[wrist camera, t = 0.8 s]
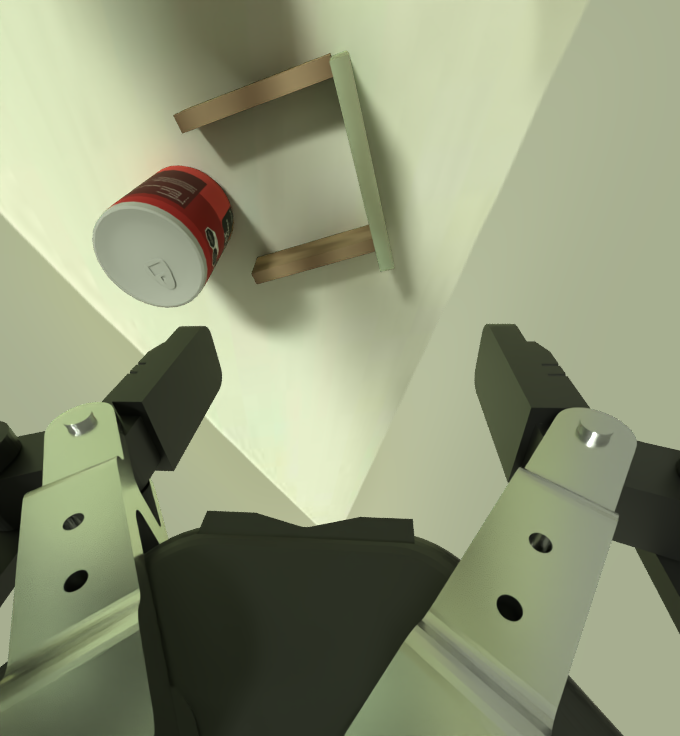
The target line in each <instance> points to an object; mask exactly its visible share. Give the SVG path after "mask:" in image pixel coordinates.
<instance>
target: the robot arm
mask: <svg viewBox="0 0 680 736" xmlns="http://www.w3.org/2000/svg"><path fill="white" fill-rule="evenodd" d="M221 382H222V372H221V367H220V363H219V360H218V357H217V353H216V350H215V346H214V343H213V339H212V336H211V333H210V330H209V329H208V328H207V327H206V326H181V327H179V328H177V329H176V331H175V332H174V333H173V334H172V335H171V336H170V337H169V338H168V339H167V341H166V342H165V343H162V344H160V345H159V346H157V347H155V348H154V349H152V350H151V351H149V352H148V353H147V354H146V355H145V356H144V357H143V358H142V359H141V360H140V361H139V362H138V365H136V366H135V367H134V368H133V369H132V370H131V371H130V374H127V375H126V376H125V377H124V378H123V380H121V382H120V383H119V384H118V385H117V386H116V387H115V388H114V389H113V390H112V391H111V392H110V393H109V394H108V395H107V397H106V398H105V399H104V400H103V401H102V402H92V403H86V404H83V405H79V406H77V407H74V408H72V409H70V410H68V411H66V412H64V413H62V414H61V415H60V416H58V417H57V418H55V419H54V420H53V421H52V422H51V423H50V424H49V426H48V427H47V429H46V431H43V432H39V433H34V434H29V435H24V436H19V437H17V436H16V435H15V434H14V433H13V431H12V430H11V428H10V427H9V426H8V425H7V424H6V423H5V422H1V421H0V607H1V605H2V604H3V603H4V601H5V600H6V598H7V597H8V595H9V594H10V592H11V591H12V590H13V588H14V587H15V589H14V600H13V611H12V621H11V632H10V643H9V654H8V662H6V663H5V664H4V665H2V666H1V667H0V736H623V735H622V734H621V732H620V731H619V730H618V729H617V728H616V727H615V726H614V725H613V724H612V723H611V721H610V720H609V719H608V718H607V717H606V716H605V715H604V714H603V713H602V712H601V710H600V709H599V708H598V707H597V706H596V705H595V704H594V703H593V702H592V701H591V700H590V699H589V697H588V696H587V695H586V694H585V693H584V692H583V691H582V690H581V688H580V687H579V686H578V685H577V684H576V683H575V682H574V681H573V680H572V679H571V677H570V676H569V675H568V674H569V671H570V668H571V665H572V662H573V659H574V656H575V653H576V650H577V646H578V643H579V640H580V637H581V634H582V631H583V628H584V625H585V622H586V619H587V616H588V612H589V609H590V606H591V603H592V600H593V597H594V594H595V591H596V588H597V585H598V582H599V578H600V575H601V572H602V569H603V566H604V563H605V560H606V557H607V554H608V551H609V547H610V544H611V541H612V540H613V541H616V542H619V543H623V544H626V545H629V546H632V547H635V549H636V551H637V553H638V555H639V556H640V558H641V560H642V562H643V564H644V566H645V568H646V570H647V572H648V574H649V576H650V578H651V580H652V582H653V583H654V585H655V587H656V589H657V591H658V593H659V595H660V597H661V599H662V601H663V603H664V604H665V607H666V608H667V610H668V612H669V614H670V616H671V618H672V620H673V622H674V624H675V626H676V628H677V630H678V632H679V633H680V451H679V450H675V449H670V448H666V447H662V446H657V445H653V444H648V443H644V442H640V441H637V440H636V437H635V435H634V434H633V432H632V431H631V430H630V429H629V428H628V427H627V426H626V425H625V424H624V423H623V422H621V421H620V420H618V419H617V418H615V417H613V416H611V415H609V414H606V413H604V412H601V411H598V410H594V409H590V407H589V406H588V405H587V403H586V402H585V400H584V399H583V398H582V396H581V395H580V393H579V392H578V391H577V389H576V388H575V386H574V385H573V384H572V382H571V381H570V380H569V378H568V377H567V376H565V372H564V371H563V369H562V368H561V367H560V366H558V362H557V361H556V360H555V358H554V357H553V355H552V354H551V352H549V351H548V350H547V349H545V348H544V347H542V346H541V345H539V344H538V343H536V342H527V341H526V340H525V338H524V337H523V335H522V334H521V332H520V330H519V329H518V327H517V326H516V325H515V324H486V325H485V326H484V329H483V332H482V337H481V342H480V348H479V353H478V358H477V363H476V369H475V389H476V393H477V396H478V398H479V401H480V404H481V407H482V410H483V413H484V415H485V419H486V421H487V424H488V427H489V430H490V433H491V436H492V438H493V441H494V444H495V447H496V450H497V453H498V456H499V458H500V461H501V464H502V467H503V470H504V473H505V476H506V478H507V481H508V482H509V484H508V485H507V487H506V488H505V490H504V492H503V493H502V495H501V496H500V498H499V500H498V501H497V503H496V504H495V506H494V507H493V509H492V511H491V512H490V514H489V515H488V517H487V519H486V520H485V522H484V523H483V525H482V527H481V528H480V530H479V532H478V533H477V535H476V536H475V538H474V539H473V541H472V543H471V544H470V546H469V547H468V549H467V551H466V552H465V554H464V555H463V557H462V559H461V560H460V559H458V558H457V557H456V556H454V555H453V554H452V553H450V552H449V551H447V550H445V549H444V548H442V547H440V546H438V545H436V544H434V543H432V542H429V541H427V540H425V539H422V538H419V537H416V536H414V529H413V519H395V518H371V517H370V518H369V517H358V518H353V519H348V520H343V521H338V522H333V523H328V524H322V525H317V526H312V527H301V526H297V525H294V524H290V523H287V522H284V521H281V520H277V519H274V518H271V517H268V516H264V515H261V514H258V513H248V512H223V511H207V513H206V515H205V518H204V520H203V522H202V525H201V527H200V528H196V529H193V530H190V531H187V532H184V533H181V534H179V535H176V536H174V537H172V538H170V539H169V538H168V535H167V531H166V528H165V524H164V520H163V517H162V513H161V509H160V506H159V502H158V498H157V494H156V491H155V487H154V484H153V482H152V480H151V476H152V474H153V473H154V471H155V470H156V471H174V470H175V468H176V466H177V464H178V463H179V461H180V459H181V457H182V455H183V454H184V452H185V450H186V448H187V446H188V445H189V443H190V441H191V439H192V438H193V436H194V434H195V432H196V430H197V428H198V427H199V425H200V423H201V421H202V420H203V418H204V416H205V414H206V412H207V411H208V409H209V407H210V405H211V404H212V402H213V400H214V398H215V396H216V395H217V393H218V391H219V389H220V386H221Z"/></svg>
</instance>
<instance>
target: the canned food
mask: <svg viewBox="0 0 680 736" xmlns="http://www.w3.org/2000/svg"><path fill="white" fill-rule="evenodd" d="M233 223H234V222H233V213H232V209H231V206H230V202H229V200H228V198H227V196H226V194H225V193H224V191H223V190H222V188H221V187H220V186H219V185H218V184H217V183H216V182H215V181H214V180H213V179H212V178H211V177H209V176H208V175H207V174H205V173H203V172H201V171H200V170H197V169H194V168H191V167H186V166H169V167H166V168H164V169H162V170H160V171H159V172H157V173H156V174H154V175H153V176H152V177H150V178H149V179H148V180H146V181H145V182H143V183H142V184H141V185H139V186H138V187H136V188H135V189H134V190H132V191H131V192H130V193H128V194H127V195H125V196H124V197H123V198H121V199H120V200H119V201H117V202H116V203H114V204H113V205H112V206H111V207H110V208H108V209H107V210H106V211H105V212H104V213H103V214H102V215H101V217H100V218H99V219H98V220H97V222H96V224H95V227H94V230H93V238H92V240H93V247H94V252H95V254H96V257H97V260H98V262H99V264H100V265H101V267H102V269H103V270H104V272H105V273H106V274H107V276H108V277H109V278H110V279H111V280H112V281H113V282H114V283H115V284H116V285H117V286H118V287H119V288H120V289H122V290H123V291H124V292H126V293H127V294H128V295H130V296H132V297H134V298H135V299H137V300H139V301H142V302H144V303H146V304H150V305H154V306H157V307H167V308H168V307H178V306H182V305H185V304H187V303H189V302H191V301H192V300H193V299H194V298H195V297H197V296H198V294H199V293H200V292H201V290H202V289H203V287H204V286H205V284H206V282H207V281H208V279H209V277H210V275H211V273H212V271H213V269H214V267H215V266H216V264H217V262H218V260H219V258H220V256H221V254H222V252H223V250H224V248H225V246H226V245H227V243H228V241H229V239H230V237H231V234H232V231H233Z"/></svg>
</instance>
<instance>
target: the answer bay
mask: <svg viewBox="0 0 680 736" xmlns="http://www.w3.org/2000/svg"><path fill="white" fill-rule="evenodd" d="M332 77H333V78H334V82H335V87H336V91H337V95H338V99H339V103H340V107H341V111H342V115H343V120H344V124H345V128H346V132H347V136H348V140H349V144H350V148H351V153H352V157H353V161H354V165H355V169H356V173H357V177H358V181H359V186H360V190H361V194H362V198H363V202H364V206H365V210H366V214H367V218H368V223H369V225H366V226H363V227H360V228H356V229H353V230H349V231H346V232H343V233H339V234H336V235H332V236H329V237H326V238H322V239H319V240H315V241H312V242H309V243H305V244H302V245H298V246H295V247H292V248H288V249H285V250H281V251H278V252H275V253H271V254H268V255H264V256H261V257H257V260H256V263H255V265H254V268H253V271H252V276H253V278H254V280H255V282H256V284H260V283H264V282H267V281H271V280H274V279H278V278H282V277H285V276H289V275H292V274H296V273H299V272H303V271H307V270H310V269H314V268H317V267H321V266H325V265H328V264H332V263H335V262H339V261H342V260H346V259H350V258H353V257H357V256H360V255H364V254H367V253H371V252H375V251H376V256H377V260H378V264H379V268H380V272H382V271H386V270H390V269H393V268H395V267H394V262H393V257H392V253H391V248H390V243H389V239H388V234H387V229H386V224H385V220H384V215H383V210H382V206H381V201H380V196H379V192H378V187H377V182H376V178H375V173H374V168H373V163H372V159H371V154H370V149H369V145H368V140H367V135H366V131H365V126H364V121H363V117H362V112H361V107H360V102H359V98H358V93H357V88H356V84H355V79H354V74H353V70H352V65H351V60H350V56H349V53H348V52H347V51H344V52H341V53H339V54H336V55H334V56H331V54H330V53H329V54H327V55H324V56H322V57H319V58H316V59H314V60H311V61H309V62H306V63H304V64H301V65H298V66H296V67H293V68H291V69H288V70H286V71H283V72H280V73H278V74H275V75H273V76H270V77H267V78H265V79H262V80H260V81H257V82H255V83H252V84H249V85H247V86H244V87H242V88H239V89H237V90H234V91H231V92H229V93H226V94H224V95H221V96H219V97H216V98H213V99H211V100H208V101H206V102H203V103H200V104H198V105H195V106H193V107H190V108H188V109H185V110H183V111H181V112H179V113H177V114H175V115H173V116H174V118H175V120H176V122H177V124H178V126H179V128H180V130H181V132H182V133H185V132H188V131H190V130H193V129H196V128H198V127H201V126H204V125H206V124H209V123H212V122H214V121H217V120H220V119H222V118H225V117H228V116H230V115H233V114H236V113H238V112H241V111H244V110H246V109H249V108H252V107H254V106H257V105H260V104H262V103H265V102H268V101H270V100H273V99H276V98H278V97H281V96H284V95H286V94H289V93H292V92H294V91H297V90H300V89H302V88H305V87H308V86H310V85H313V84H316V83H318V82H321V81H324V80H326V79H329V78H332Z"/></svg>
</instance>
